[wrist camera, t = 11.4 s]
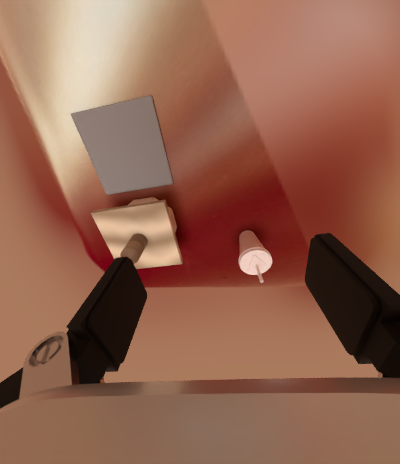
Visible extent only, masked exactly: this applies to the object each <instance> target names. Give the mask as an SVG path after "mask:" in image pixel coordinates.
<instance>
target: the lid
mask: <svg viewBox="0 0 400 464" xmlns="http://www.w3.org/2000/svg"><path fill="white" fill-rule="evenodd" d="M91 214H92V216H93V218H94V220H95V222H96V224H97V226H98V228H99V230H100V232H101V234H102V236H103V238H104V240H105V242H106V244H107V246H108V247H109V249H110V251H111V253H112V255H113V257H114V259H115V258H117V257H128V258H129V259H131V260H132V261H133V263H134V266H135V268H136V269H139V268H148V267H158V266H167V265H177V264H182V261H183V260H182V256H181V253H180V249H179V246H178V242H177V238H176V235H175V231H174V228H173V224H172V221H171V217H170V214H169V210H168V206H167V203H166V200H160V201H153V202H147V203H140V204H134V205H127V206H121V207H114V208H108V209H101V210H95V211H93V212H92V213H91Z"/></svg>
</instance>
